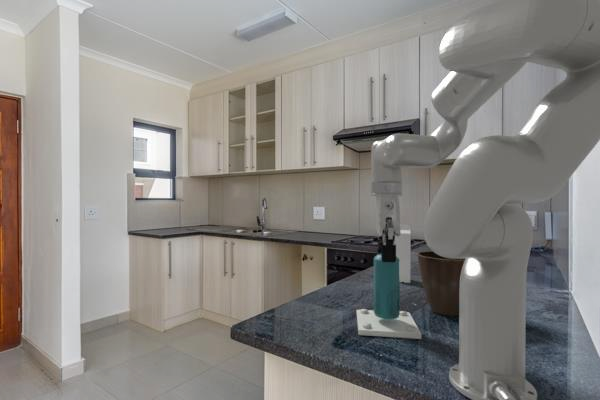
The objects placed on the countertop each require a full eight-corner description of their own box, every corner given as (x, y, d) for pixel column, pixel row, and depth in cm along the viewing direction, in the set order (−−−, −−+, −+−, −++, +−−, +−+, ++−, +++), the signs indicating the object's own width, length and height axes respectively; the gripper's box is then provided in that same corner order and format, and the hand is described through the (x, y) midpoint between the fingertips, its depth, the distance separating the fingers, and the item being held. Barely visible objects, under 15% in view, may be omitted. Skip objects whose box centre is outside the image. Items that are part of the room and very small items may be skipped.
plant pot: (424, 299, 101) (424, 249, 101) (478, 309, 93) (478, 254, 93) (410, 313, 89) (411, 255, 89) (471, 325, 80) (471, 262, 80)
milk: (394, 278, 129) (394, 223, 129) (409, 279, 127) (410, 224, 127) (394, 282, 123) (394, 224, 123) (410, 283, 121) (410, 225, 122)
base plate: (421, 338, 72) (421, 331, 72) (358, 335, 74) (358, 327, 74) (409, 316, 86) (409, 310, 86) (356, 313, 88) (356, 307, 88)
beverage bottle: (401, 326, 76) (401, 243, 76) (372, 324, 78) (373, 242, 78) (398, 316, 83) (399, 239, 83) (372, 314, 84) (372, 238, 84)
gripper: (408, 188, 71) (408, 265, 71) (396, 191, 88) (396, 253, 88) (374, 188, 72) (373, 264, 72) (368, 191, 89) (368, 252, 89)
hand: (386, 258), depth 80 cm, fingers open, 9 cm apart
